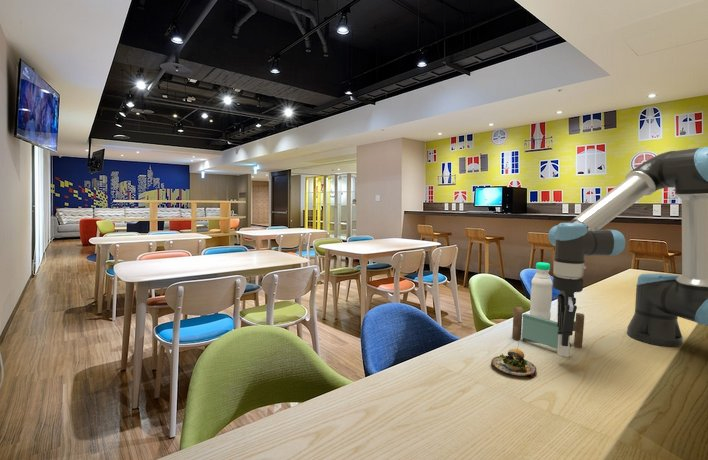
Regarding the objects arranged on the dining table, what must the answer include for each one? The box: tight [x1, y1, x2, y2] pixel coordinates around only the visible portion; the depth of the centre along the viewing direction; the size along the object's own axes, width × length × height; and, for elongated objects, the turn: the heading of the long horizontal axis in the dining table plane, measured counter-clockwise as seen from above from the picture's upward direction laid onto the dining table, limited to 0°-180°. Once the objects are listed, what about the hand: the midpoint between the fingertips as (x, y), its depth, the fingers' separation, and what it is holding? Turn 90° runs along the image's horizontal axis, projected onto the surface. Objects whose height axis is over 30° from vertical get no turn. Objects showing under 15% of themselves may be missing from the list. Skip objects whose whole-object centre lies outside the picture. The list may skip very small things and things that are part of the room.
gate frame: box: [511, 306, 585, 349], centre depth 125 cm, size 21×4×11 cm, turn 71°
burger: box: [490, 343, 537, 379], centre depth 105 cm, size 12×12×8 cm
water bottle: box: [529, 261, 553, 320], centre depth 137 cm, size 7×7×25 cm
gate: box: [521, 312, 559, 350], centre depth 120 cm, size 14×2×8 cm, turn 36°
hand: (562, 354), depth 108 cm, fingers closed
